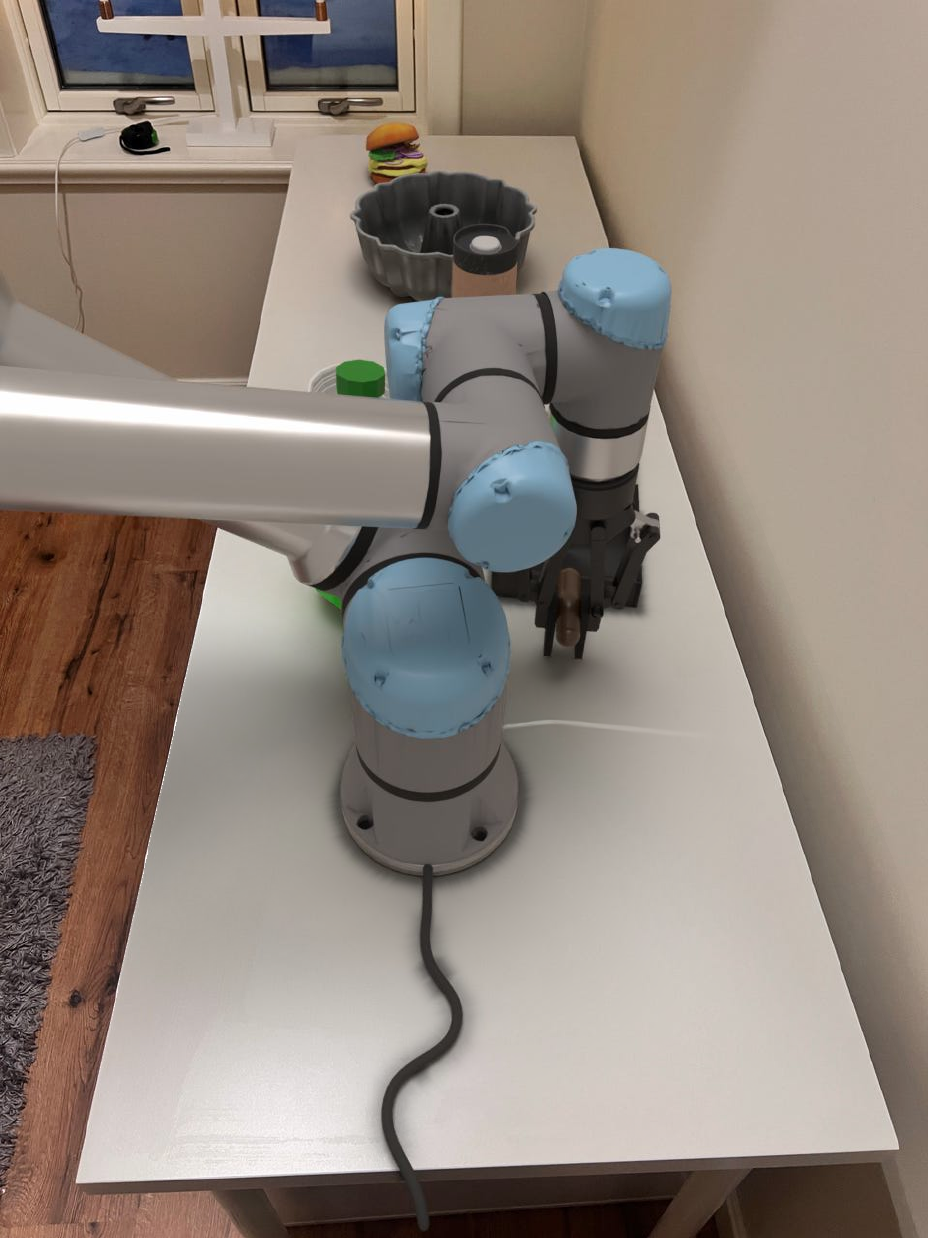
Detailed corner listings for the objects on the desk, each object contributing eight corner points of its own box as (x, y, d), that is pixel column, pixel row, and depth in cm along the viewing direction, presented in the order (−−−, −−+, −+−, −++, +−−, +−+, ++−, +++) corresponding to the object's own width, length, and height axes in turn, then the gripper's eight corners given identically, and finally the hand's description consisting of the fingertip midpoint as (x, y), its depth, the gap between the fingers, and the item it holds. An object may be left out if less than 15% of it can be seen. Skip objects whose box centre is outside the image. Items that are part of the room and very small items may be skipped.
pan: (639, 698, 90) (653, 643, 84) (481, 684, 91) (484, 629, 85) (632, 512, 107) (644, 456, 101) (500, 502, 108) (503, 445, 102)
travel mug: (443, 398, 121) (443, 248, 106) (461, 366, 126) (463, 218, 111) (500, 409, 120) (509, 259, 105) (516, 376, 125) (526, 228, 110)
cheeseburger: (385, 196, 158) (375, 130, 153) (360, 187, 166) (349, 124, 160) (438, 183, 162) (431, 118, 156) (411, 175, 170) (403, 113, 164)
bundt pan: (326, 302, 136) (320, 235, 129) (393, 221, 153) (390, 158, 145) (502, 337, 131) (506, 268, 123) (551, 249, 148) (557, 184, 140)
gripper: (688, 431, 76) (641, 624, 94) (497, 417, 77) (486, 611, 94) (694, 492, 71) (643, 684, 89) (490, 477, 72) (480, 670, 89)
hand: (563, 646), depth 92 cm, fingers closed on pan, 2 cm apart
